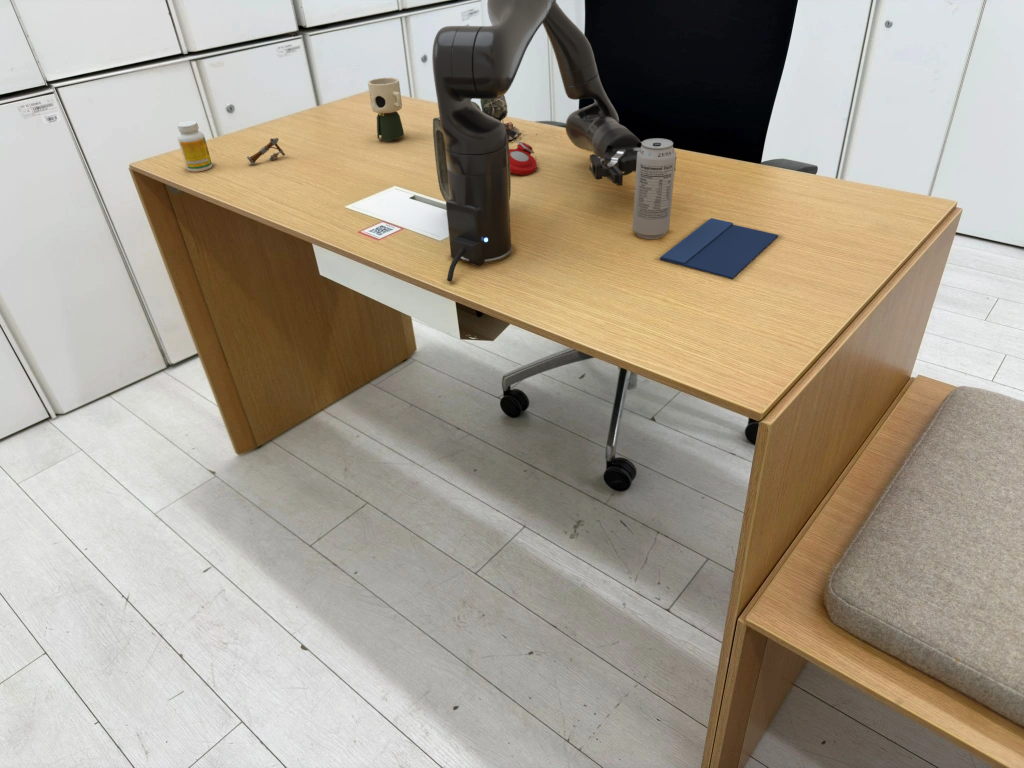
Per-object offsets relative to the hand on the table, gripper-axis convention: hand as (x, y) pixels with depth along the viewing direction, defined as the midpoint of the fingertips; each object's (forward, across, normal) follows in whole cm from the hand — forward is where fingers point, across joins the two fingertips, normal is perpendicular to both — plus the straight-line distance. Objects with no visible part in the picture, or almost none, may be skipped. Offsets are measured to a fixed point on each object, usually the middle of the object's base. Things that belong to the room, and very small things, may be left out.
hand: (645, 177), depth 117 cm
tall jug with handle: (-9, -28, +8) cm, 30 cm away
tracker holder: (-35, -15, +8) cm, 39 cm away
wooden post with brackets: (-56, -68, +8) cm, 89 cm away
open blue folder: (+12, +9, +8) cm, 17 cm away
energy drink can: (+4, 0, +8) cm, 9 cm away
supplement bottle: (-55, -82, +8) cm, 100 cm away
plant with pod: (-56, -15, +8) cm, 59 cm away
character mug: (-63, -40, +8) cm, 76 cm away
